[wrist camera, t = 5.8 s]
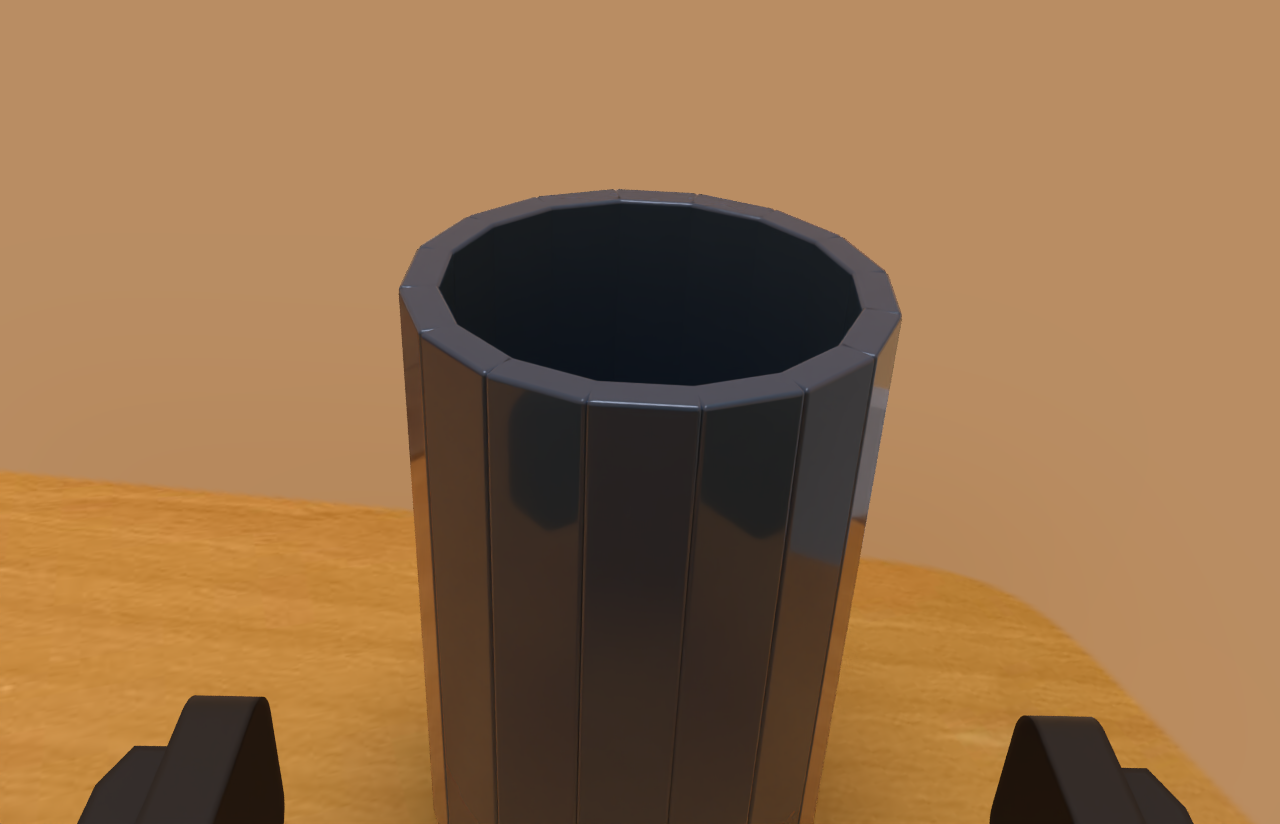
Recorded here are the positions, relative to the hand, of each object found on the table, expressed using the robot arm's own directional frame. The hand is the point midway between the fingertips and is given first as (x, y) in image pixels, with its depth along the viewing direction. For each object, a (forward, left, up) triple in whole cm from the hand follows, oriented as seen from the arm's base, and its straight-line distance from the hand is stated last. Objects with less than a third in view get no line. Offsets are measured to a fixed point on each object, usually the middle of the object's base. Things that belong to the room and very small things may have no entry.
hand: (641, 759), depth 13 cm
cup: (+2, -4, -7) cm, 8 cm away
